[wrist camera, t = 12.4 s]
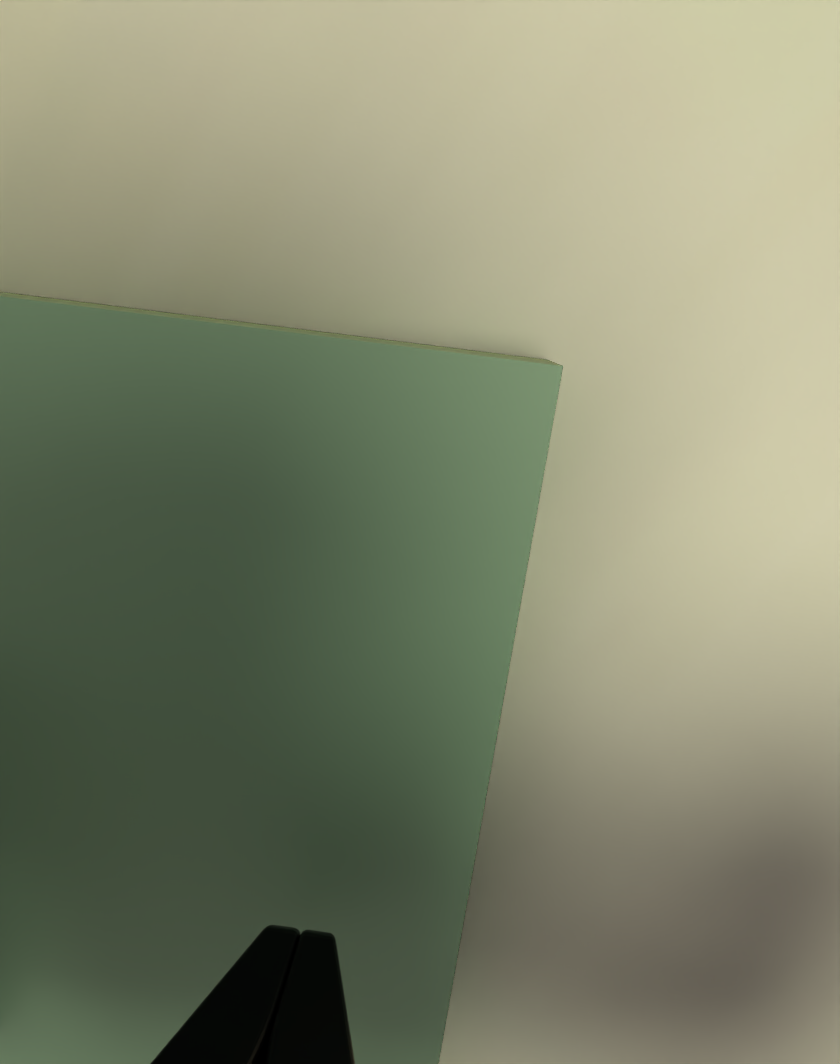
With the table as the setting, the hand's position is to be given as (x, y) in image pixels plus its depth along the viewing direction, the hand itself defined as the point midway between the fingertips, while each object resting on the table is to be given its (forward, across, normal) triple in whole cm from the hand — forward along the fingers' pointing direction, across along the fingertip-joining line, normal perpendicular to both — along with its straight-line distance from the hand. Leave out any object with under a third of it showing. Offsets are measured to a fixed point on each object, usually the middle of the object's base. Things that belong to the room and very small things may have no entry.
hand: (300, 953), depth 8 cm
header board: (+2, +4, 0) cm, 5 cm away
